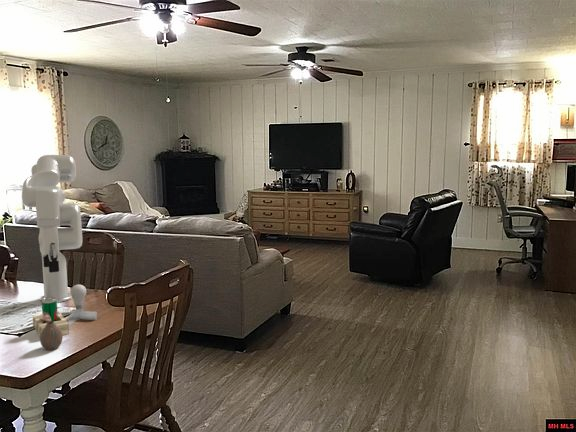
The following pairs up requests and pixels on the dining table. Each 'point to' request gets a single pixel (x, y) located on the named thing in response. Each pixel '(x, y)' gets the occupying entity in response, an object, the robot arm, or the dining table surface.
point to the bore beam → (60, 323)
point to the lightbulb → (78, 295)
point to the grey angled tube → (81, 315)
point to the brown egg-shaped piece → (51, 336)
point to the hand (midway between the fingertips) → (51, 269)
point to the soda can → (49, 310)
